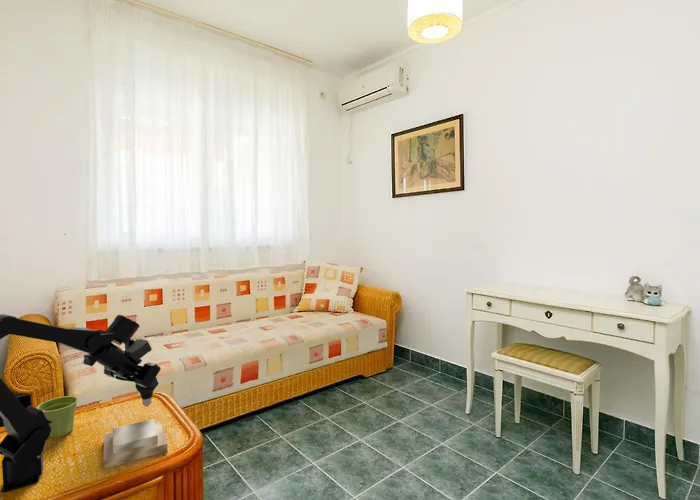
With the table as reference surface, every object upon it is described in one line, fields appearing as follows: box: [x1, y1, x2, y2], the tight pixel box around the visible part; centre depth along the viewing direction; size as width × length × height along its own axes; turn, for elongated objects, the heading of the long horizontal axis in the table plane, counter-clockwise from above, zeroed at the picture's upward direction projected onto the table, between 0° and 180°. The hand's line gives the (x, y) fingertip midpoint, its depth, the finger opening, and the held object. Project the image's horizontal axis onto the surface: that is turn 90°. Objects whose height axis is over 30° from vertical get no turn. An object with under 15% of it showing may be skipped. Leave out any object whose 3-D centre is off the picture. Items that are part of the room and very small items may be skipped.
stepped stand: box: [103, 418, 168, 470], centre depth 103 cm, size 14×14×4 cm
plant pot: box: [36, 395, 79, 439], centre depth 110 cm, size 9×9×9 cm
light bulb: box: [135, 376, 158, 407], centre depth 117 cm, size 6×6×10 cm
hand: (150, 383), depth 118 cm, fingers closed on light bulb, 6 cm apart
